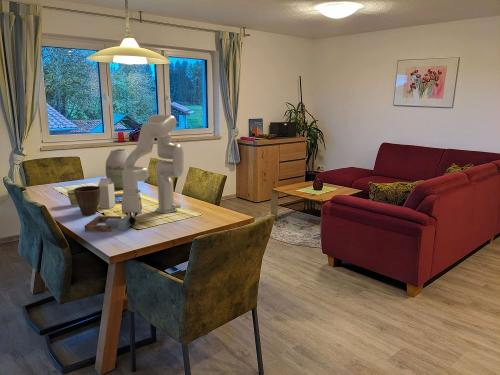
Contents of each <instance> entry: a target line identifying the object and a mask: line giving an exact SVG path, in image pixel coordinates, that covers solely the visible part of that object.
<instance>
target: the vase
mask: <svg viewBox="0 0 500 375" xmlns="http://www.w3.org/2000/svg"><path fill="white" fill-rule="evenodd" d="M129 155H130V153H129V152H128V151H127V149H126V148H114V149H111V150H110V153H109V155H108V157H107V158H106V161H105V175H106V176H105V177H106V178H108V179H111V181H112V182H113V183H114V190H117V191H119V190H122V191H123V178H122V172H123V170H124V166H125V162H126V159H127V157H128V156H129Z"/></svg>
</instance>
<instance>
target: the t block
mask: <svg viewBox="0 0 500 375" xmlns="http://www.w3.org/2000/svg"><path fill="white" fill-rule="evenodd" d="M105 225H111V228H117V230H118V231H126V230H127V229H129V227H131V225H130V223H129V218H128V216H127V215H126V216H123V218H122V217H121V218H108V219H107V220H106V222H105Z"/></svg>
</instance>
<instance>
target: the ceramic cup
mask: <svg viewBox="0 0 500 375" xmlns="http://www.w3.org/2000/svg"><path fill="white" fill-rule="evenodd" d="M66 193H67V196H68V197H67V198H68V199H69V202H70V205H71V207H72V208H79V206H78V203H77V200H76V197H75V193H74V189H69V190H68V191H67V192H66Z"/></svg>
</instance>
